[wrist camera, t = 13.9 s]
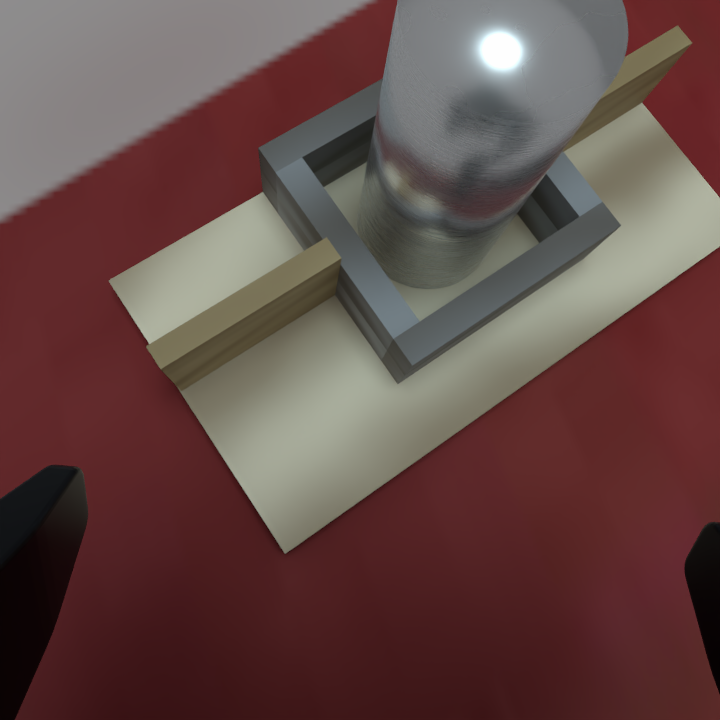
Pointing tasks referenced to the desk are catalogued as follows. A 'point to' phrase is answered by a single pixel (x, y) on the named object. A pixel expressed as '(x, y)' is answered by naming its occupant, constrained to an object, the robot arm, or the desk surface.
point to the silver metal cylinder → (476, 123)
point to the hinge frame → (404, 299)
